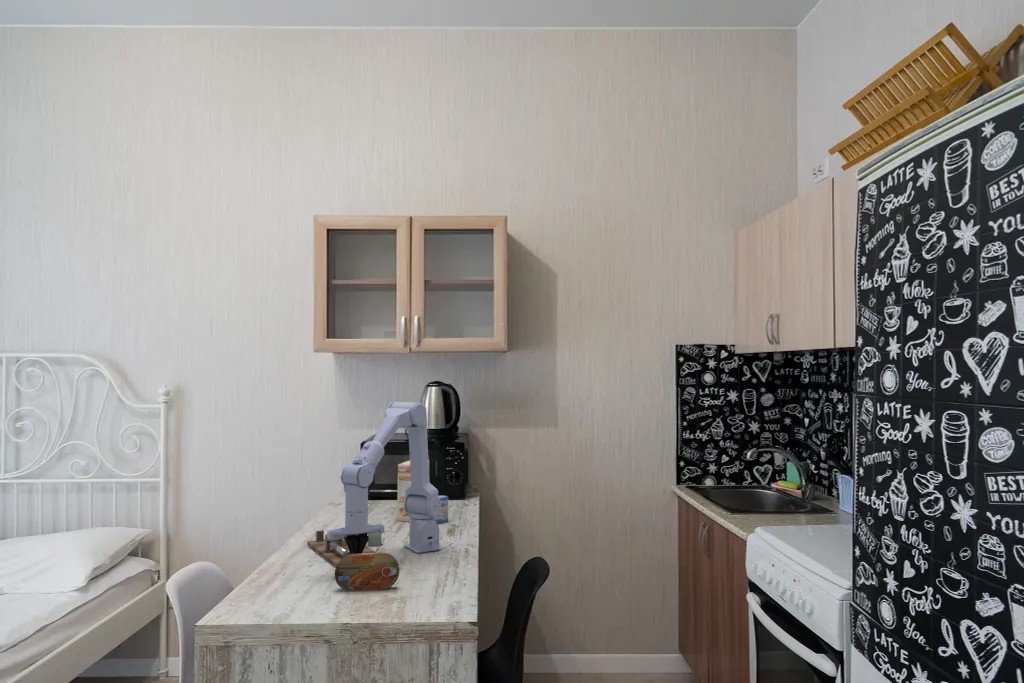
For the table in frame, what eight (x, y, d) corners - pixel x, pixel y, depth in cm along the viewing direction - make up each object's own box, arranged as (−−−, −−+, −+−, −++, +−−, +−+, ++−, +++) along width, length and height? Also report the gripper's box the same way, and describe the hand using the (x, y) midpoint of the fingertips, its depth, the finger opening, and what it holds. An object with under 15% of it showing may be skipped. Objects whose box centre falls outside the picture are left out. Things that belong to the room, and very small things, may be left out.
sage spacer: (383, 544, 206) (383, 524, 207) (370, 546, 204) (370, 526, 205) (378, 542, 210) (378, 522, 210) (365, 544, 208) (365, 523, 208)
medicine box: (432, 525, 232) (432, 499, 233) (422, 523, 235) (423, 498, 235) (448, 521, 239) (448, 496, 239) (439, 520, 241) (439, 494, 242)
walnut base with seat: (385, 562, 188) (385, 550, 188) (338, 569, 181) (338, 557, 181) (350, 540, 212) (350, 529, 212) (307, 545, 205) (307, 534, 206)
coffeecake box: (415, 522, 237) (416, 464, 238) (396, 521, 239) (396, 464, 240) (429, 513, 252) (430, 459, 253) (410, 512, 254) (411, 458, 254)
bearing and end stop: (342, 550, 195) (342, 538, 195) (326, 552, 193) (326, 540, 193) (326, 539, 207) (326, 528, 208) (311, 541, 205) (311, 530, 205)
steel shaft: (354, 560, 184) (354, 550, 184) (344, 562, 183) (344, 552, 183) (335, 547, 197) (335, 538, 197) (326, 549, 196) (326, 539, 196)
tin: (334, 592, 163) (334, 555, 163) (335, 588, 166) (336, 552, 167) (399, 589, 165) (399, 553, 165) (399, 585, 168) (399, 550, 169)
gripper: (378, 505, 187) (377, 556, 186) (324, 510, 179) (323, 564, 179) (387, 510, 181) (386, 563, 180) (332, 515, 173) (331, 571, 173)
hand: (355, 564), depth 179 cm, fingers closed
